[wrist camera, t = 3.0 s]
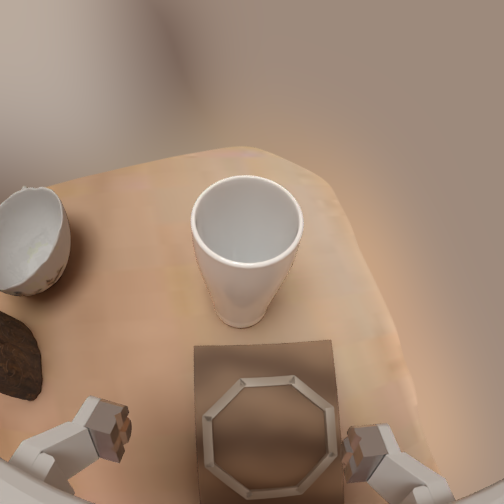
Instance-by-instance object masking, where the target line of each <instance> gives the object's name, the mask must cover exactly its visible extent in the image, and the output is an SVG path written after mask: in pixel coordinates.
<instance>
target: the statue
mask: <svg viewBox="0 0 504 504" xmlns="http://www.w3.org/2000/svg"><path fill="white" fill-rule="evenodd" d="M41 383H42V376H41V364H40V354H39V350H38V348H37V344H36V341H35V339H34V338H33V336H32V333H31V331H30V330H29V329H28V328H27V327H26V326H25V325H24V324H23V323H22V322H20V321H19V320H17V319H15V318H13V317H11V316H9V315H7V314H5V313H3V312H1V311H0V393H2V394H6V395H8V396H11V397H16V398H20V399H24V400H28V401H31V400H34V399H35V398H36V396H37V395H38V394H39V393H40V391H41Z"/></svg>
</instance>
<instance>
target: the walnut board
mask: <svg viewBox="0 0 504 504" xmlns="http://www.w3.org/2000/svg"><path fill="white" fill-rule="evenodd" d="M194 392H195V425H196V448H197V465H198V481H199V494H200V504H344V491H343V466H342V462H341V458H340V448H341V433H340V419H339V407H338V396H337V386H336V377H335V367H334V359H333V350H332V342H331V340H323V341H311V342H298V343H282V344H263V345H234V346H194Z"/></svg>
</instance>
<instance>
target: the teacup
mask: <svg viewBox="0 0 504 504" xmlns="http://www.w3.org/2000/svg"><path fill="white" fill-rule="evenodd" d="M70 247H71V234H70V227H69V222H68V218H67V214H66V212H65V209H64V207H63V204H62V202H61V200H60V199H59V197H58V196H57V195H56V194H55V193H54V191H53V190H52V189H48V188H45V187H40V188H28V187H27V186H23V187H22V190H21V191H18V192H16V193H14V194H13V195H11V196H10V197H9V198H8V199H7V200H6V201H4V202H3V203H2V204H1V205H0V291H1V292H4V293H6V294H10V295H15V296H30V295H35V294H38V293H41V292H43V291H45V290H46V289H48V288H49V287H51V286H52V285H53V284H54V283H56V282H57V281H58V279H59V278H60V277H61V276H62V273H63V271H64V269H65V267H66V265H67V262H68V258H69V254H70Z"/></svg>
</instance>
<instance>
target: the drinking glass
mask: <svg viewBox="0 0 504 504" xmlns="http://www.w3.org/2000/svg"><path fill="white" fill-rule="evenodd" d="M303 228H304V220H303V214H302V211H301V208H300V206H299V204H298V202H297V201H296V199H295V198H294V196H293V195H292V194H291V193H290V192H289V191H288V190H287V189H285V188H284V187H283V186H281V185H279V184H278V183H276V182H274V181H271V180H269V179H266V178H263V177H258V176H251V175H240V176H233V177H228V178H225V179H222V180H220V181H218V182H216V183H214V184H212V185H211V186H209V187H208V188H207V189H205V190H204V191H203V192H202V193H201V195H200V196H199V197H198V199H197V200H196V202H195V204H194V206H193V209H192V213H191V231H192V240H193V247H194V252H195V256H196V260H197V264H198V267H199V270H200V272H201V275H202V277H203V280H204V282H205V284H206V287H207V289H208V291H209V294H210V296H211V299H212V301H213V304H214V309H215V311H216V314H217V315H218V317H219V318H220V319H221V320H222V321H223V322H224V323H226V324H227V325H229V326H232V327H236V328H246V327H250V326H252V325H254V324H256V323H257V322H259V321H260V320H261V319H262V318H263V316H264V315H265V313H266V310H267V308H268V306H269V304H270V303H271V301H272V299H273V298H274V296H275V295H276V293H277V291H278V290H279V288H280V287H281V285H282V283H283V282H284V280H285V278H286V277H287V275H288V273H289V271H290V269H291V267H292V264H293V262H294V259H295V257H296V254H297V251H298V248H299V244H300V240H301V237H302V233H303Z"/></svg>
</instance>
